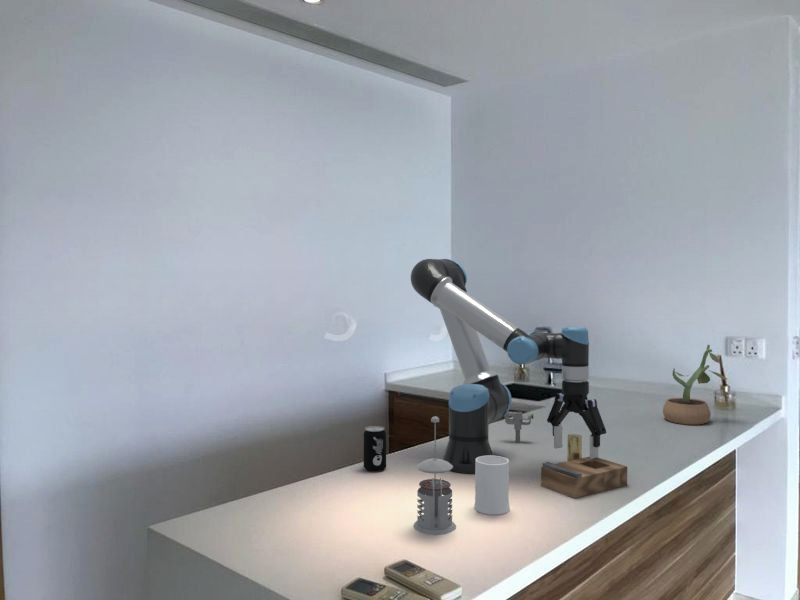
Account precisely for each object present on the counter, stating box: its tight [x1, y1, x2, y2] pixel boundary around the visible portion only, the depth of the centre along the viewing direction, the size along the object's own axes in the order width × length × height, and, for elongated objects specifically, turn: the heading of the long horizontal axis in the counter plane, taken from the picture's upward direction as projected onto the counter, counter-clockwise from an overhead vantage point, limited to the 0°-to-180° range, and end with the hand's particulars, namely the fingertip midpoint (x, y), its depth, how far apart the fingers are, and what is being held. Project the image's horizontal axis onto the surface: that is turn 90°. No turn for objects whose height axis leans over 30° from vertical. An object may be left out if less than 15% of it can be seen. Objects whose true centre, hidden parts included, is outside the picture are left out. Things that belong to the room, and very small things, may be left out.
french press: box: [412, 415, 457, 536], centre depth 146 cm, size 10×12×25 cm
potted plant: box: [662, 344, 728, 426], centre depth 250 cm, size 22×18×30 cm
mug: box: [473, 454, 511, 516], centre depth 159 cm, size 12×8×12 cm
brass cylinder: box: [566, 433, 583, 462], centre depth 189 cm, size 4×4×10 cm
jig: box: [540, 456, 628, 499], centre depth 176 cm, size 20×12×6 cm, turn 122°
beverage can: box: [363, 425, 387, 473], centre depth 190 cm, size 7×7×12 cm
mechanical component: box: [502, 411, 534, 444], centre depth 220 cm, size 3×10×10 cm, turn 79°
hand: (575, 453), depth 189 cm, fingers open, 13 cm apart
